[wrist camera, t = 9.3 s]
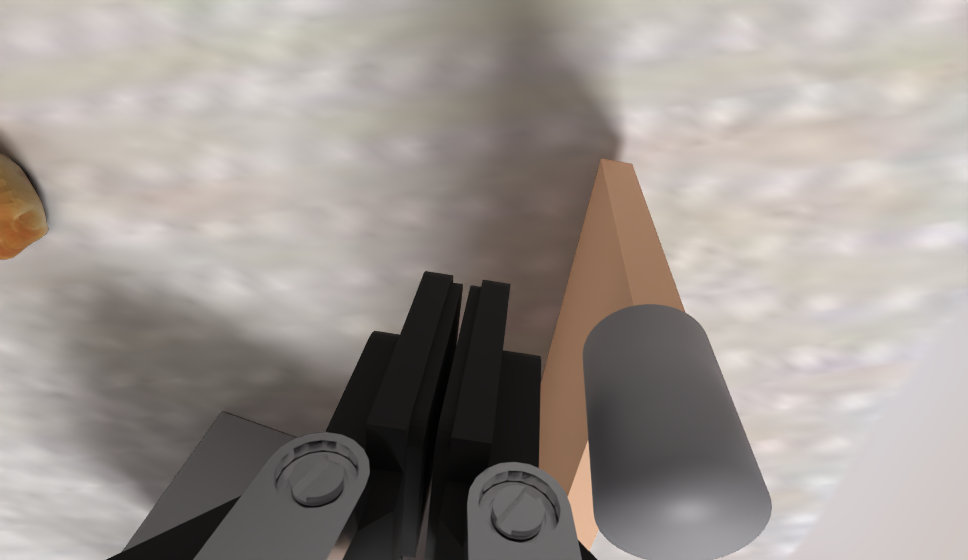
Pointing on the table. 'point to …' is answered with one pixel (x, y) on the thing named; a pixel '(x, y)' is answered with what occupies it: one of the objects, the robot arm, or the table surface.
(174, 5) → the table surface
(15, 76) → the table surface
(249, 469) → the cabinet body
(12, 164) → the pastry
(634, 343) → the side door
